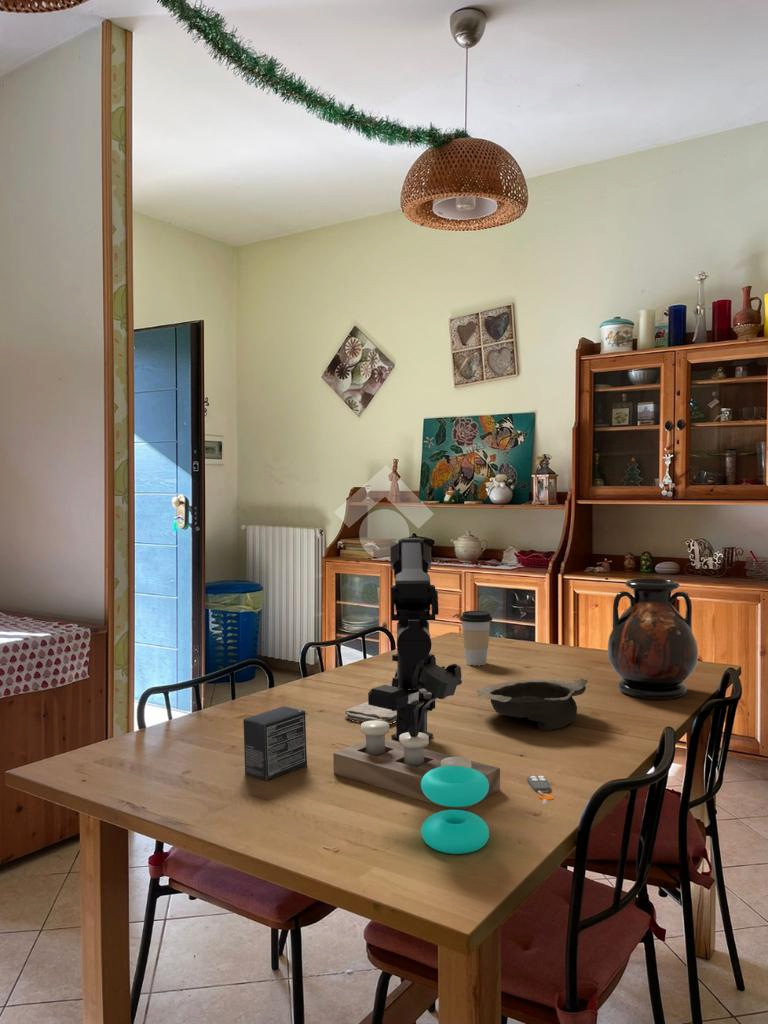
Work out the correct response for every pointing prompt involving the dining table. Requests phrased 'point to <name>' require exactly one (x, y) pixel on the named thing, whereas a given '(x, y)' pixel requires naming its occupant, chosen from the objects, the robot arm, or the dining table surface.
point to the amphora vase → (652, 641)
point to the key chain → (540, 787)
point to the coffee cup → (476, 636)
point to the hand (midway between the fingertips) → (413, 736)
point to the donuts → (455, 826)
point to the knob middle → (414, 748)
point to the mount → (400, 770)
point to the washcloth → (370, 713)
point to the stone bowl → (537, 700)
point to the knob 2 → (456, 762)
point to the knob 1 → (375, 736)
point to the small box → (275, 742)
